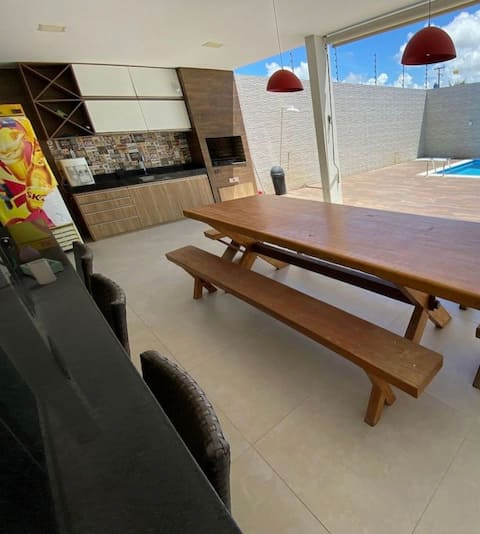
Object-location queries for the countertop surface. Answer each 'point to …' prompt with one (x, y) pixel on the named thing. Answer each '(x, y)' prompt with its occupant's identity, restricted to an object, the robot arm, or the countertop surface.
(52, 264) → the holder
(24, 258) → the vase
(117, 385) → the countertop surface
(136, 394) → the countertop surface
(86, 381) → the countertop surface
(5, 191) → the robot arm
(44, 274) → the beige rectangular block
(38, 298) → the countertop surface
